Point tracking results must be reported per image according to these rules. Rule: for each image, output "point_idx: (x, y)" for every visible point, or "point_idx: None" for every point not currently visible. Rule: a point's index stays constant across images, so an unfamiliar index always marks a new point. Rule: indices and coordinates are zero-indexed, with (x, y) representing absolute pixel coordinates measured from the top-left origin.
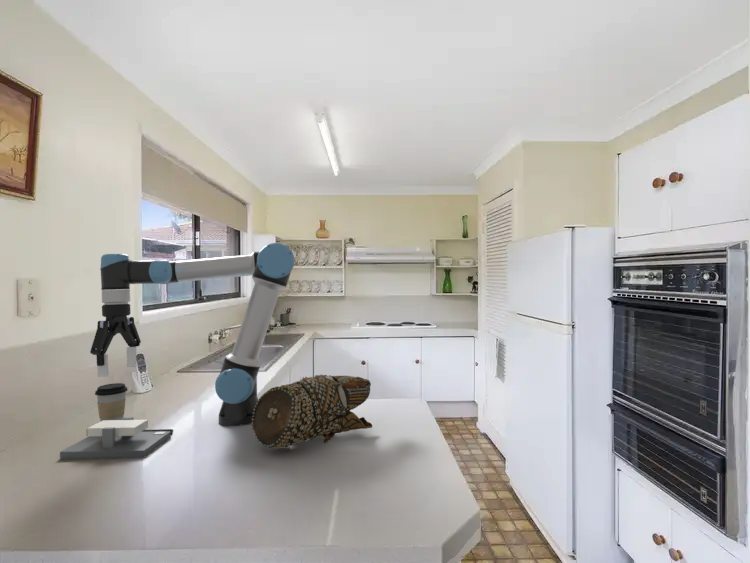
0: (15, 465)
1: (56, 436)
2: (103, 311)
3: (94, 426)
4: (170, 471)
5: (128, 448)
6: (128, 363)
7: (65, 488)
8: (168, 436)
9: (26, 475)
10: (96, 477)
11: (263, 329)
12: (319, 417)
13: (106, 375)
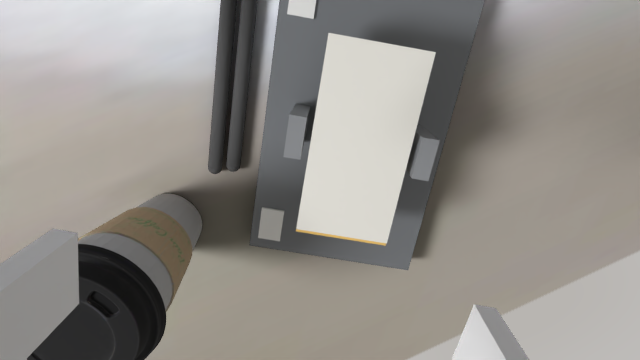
0: (416, 339)
1: (212, 350)
2: None
3: (371, 227)
4: None
5: (445, 64)
6: (54, 315)
7: (631, 147)
8: None
9: (496, 283)
10: (589, 93)
11: None
12: None
13: (500, 315)
